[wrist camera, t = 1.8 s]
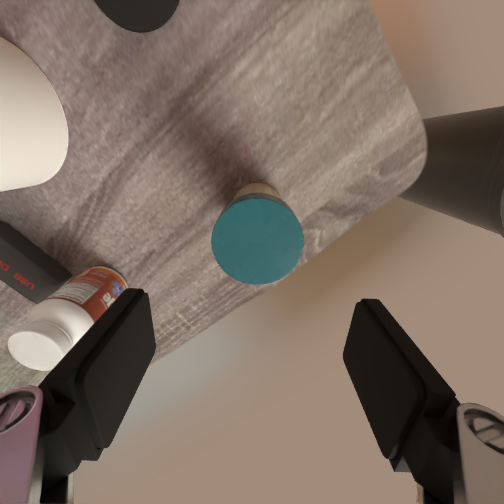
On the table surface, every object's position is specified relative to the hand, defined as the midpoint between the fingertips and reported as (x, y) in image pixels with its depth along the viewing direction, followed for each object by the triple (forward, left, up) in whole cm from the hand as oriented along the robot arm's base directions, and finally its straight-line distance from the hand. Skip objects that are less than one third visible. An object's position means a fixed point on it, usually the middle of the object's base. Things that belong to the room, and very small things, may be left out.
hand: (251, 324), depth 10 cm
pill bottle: (+19, +11, -19) cm, 29 cm away
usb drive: (+29, +7, -19) cm, 35 cm away
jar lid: (0, 0, -9) cm, 9 cm away
